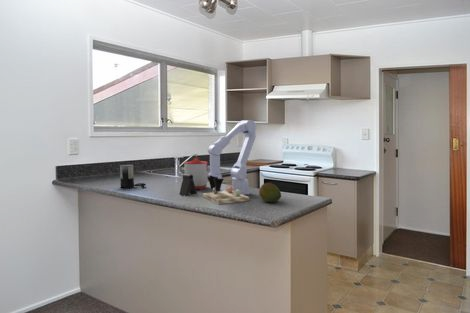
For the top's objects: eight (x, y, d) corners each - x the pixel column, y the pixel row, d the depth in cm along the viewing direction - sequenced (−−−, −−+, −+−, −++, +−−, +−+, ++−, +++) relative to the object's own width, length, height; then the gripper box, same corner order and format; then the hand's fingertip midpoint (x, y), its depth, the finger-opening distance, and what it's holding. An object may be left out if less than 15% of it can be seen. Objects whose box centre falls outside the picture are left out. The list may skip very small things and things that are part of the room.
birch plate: (231, 193, 220) (231, 190, 220) (248, 200, 200) (248, 197, 200) (203, 196, 212) (203, 193, 212) (218, 204, 192) (218, 200, 192)
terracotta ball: (231, 191, 216) (231, 185, 216) (233, 192, 213) (233, 186, 212) (225, 192, 214) (225, 186, 214) (228, 193, 211) (228, 187, 211)
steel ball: (217, 192, 213) (217, 186, 213) (219, 193, 210) (219, 187, 210) (211, 193, 212) (211, 187, 211) (213, 194, 209) (213, 188, 208)
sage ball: (239, 194, 206) (239, 188, 206) (242, 196, 203) (242, 189, 203) (233, 195, 204) (233, 189, 204) (236, 196, 201) (236, 190, 201)
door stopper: (185, 196, 215) (185, 175, 214) (179, 194, 219) (178, 174, 218) (197, 193, 222) (196, 173, 221) (190, 192, 226) (190, 173, 225)
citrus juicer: (210, 190, 232) (209, 158, 230) (182, 190, 233) (182, 158, 231) (212, 185, 248) (211, 156, 246) (186, 186, 248) (185, 156, 246)
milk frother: (119, 186, 250) (118, 165, 249) (142, 184, 257) (142, 163, 255) (122, 190, 237) (121, 167, 236) (147, 188, 244) (146, 165, 242)
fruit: (267, 198, 205) (267, 180, 204) (286, 201, 197) (286, 182, 196) (254, 202, 196) (254, 183, 195) (274, 205, 188) (274, 186, 187)
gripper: (203, 165, 214) (204, 188, 215) (213, 167, 201) (213, 192, 202) (215, 164, 217) (215, 187, 218) (225, 167, 204) (225, 191, 205)
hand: (215, 189), depth 211 cm, fingers open, 7 cm apart
